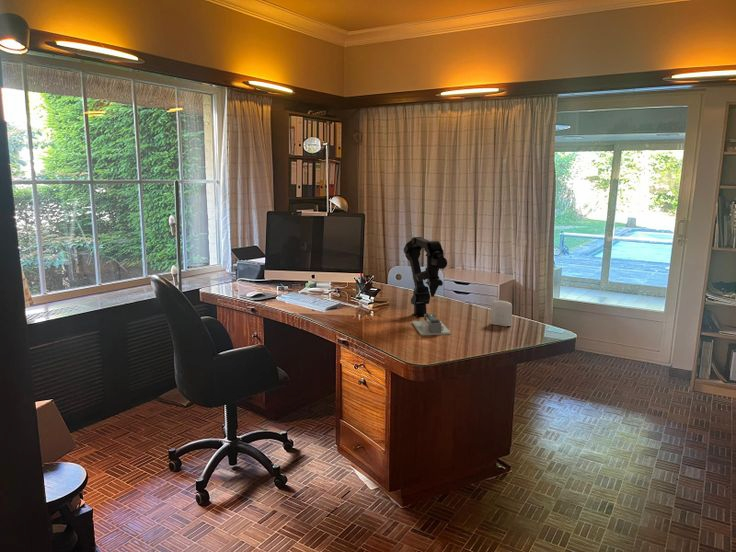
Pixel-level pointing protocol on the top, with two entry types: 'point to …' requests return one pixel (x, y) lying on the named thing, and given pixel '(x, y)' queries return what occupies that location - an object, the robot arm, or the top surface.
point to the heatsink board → (430, 327)
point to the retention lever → (433, 319)
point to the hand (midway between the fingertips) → (432, 296)
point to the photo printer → (501, 313)
